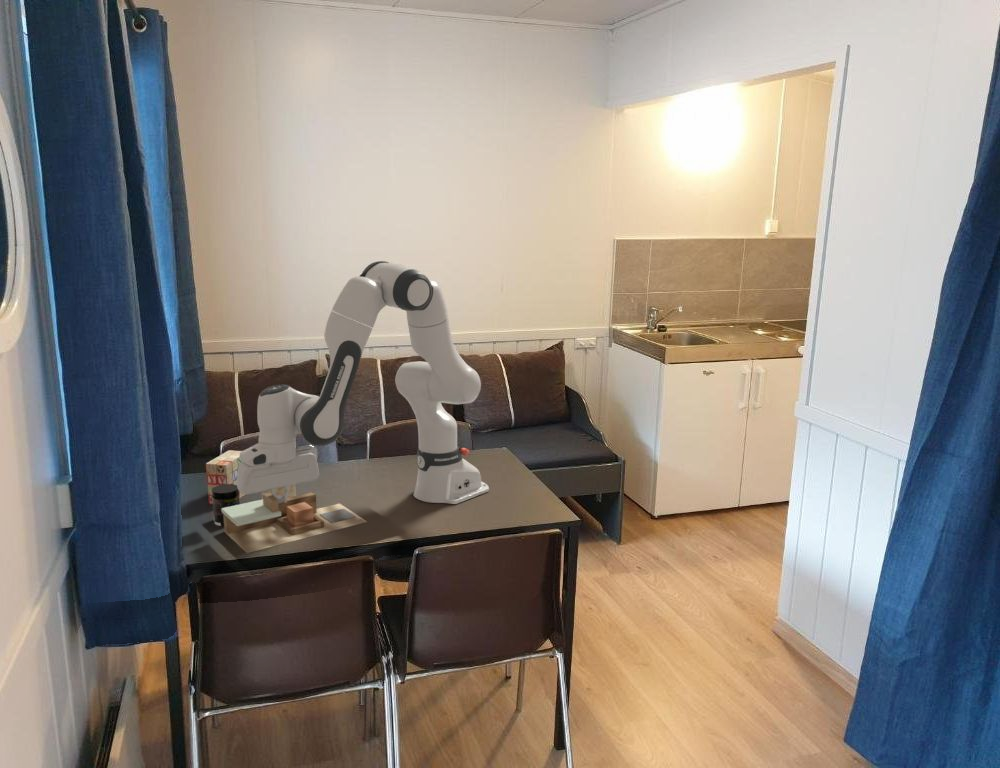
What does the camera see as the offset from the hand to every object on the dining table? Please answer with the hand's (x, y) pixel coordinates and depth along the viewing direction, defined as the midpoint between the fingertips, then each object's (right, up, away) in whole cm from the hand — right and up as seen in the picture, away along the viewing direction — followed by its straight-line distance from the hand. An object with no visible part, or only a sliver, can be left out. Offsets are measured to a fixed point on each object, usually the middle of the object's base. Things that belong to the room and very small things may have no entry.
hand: (280, 503), depth 196 cm
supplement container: (-16, -7, +7) cm, 19 cm away
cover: (-6, -2, -3) cm, 7 cm away
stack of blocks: (-21, -2, +32) cm, 38 cm away
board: (+3, -8, +4) cm, 10 cm away
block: (+4, -6, +5) cm, 9 cm away
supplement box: (-6, -4, +21) cm, 22 cm away
